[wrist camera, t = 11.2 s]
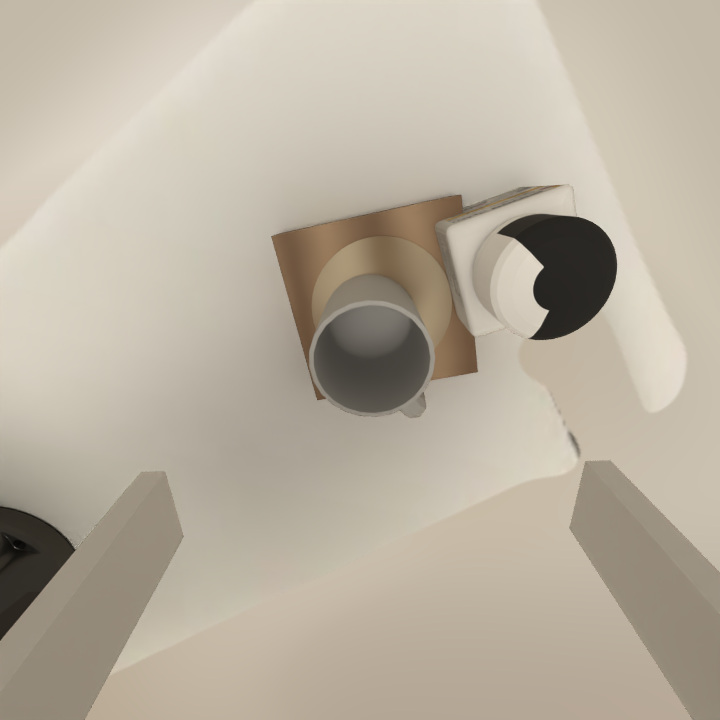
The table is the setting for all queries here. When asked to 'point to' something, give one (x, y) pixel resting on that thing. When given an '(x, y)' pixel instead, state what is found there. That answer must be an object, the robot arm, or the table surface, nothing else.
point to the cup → (372, 349)
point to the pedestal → (379, 273)
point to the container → (526, 263)
